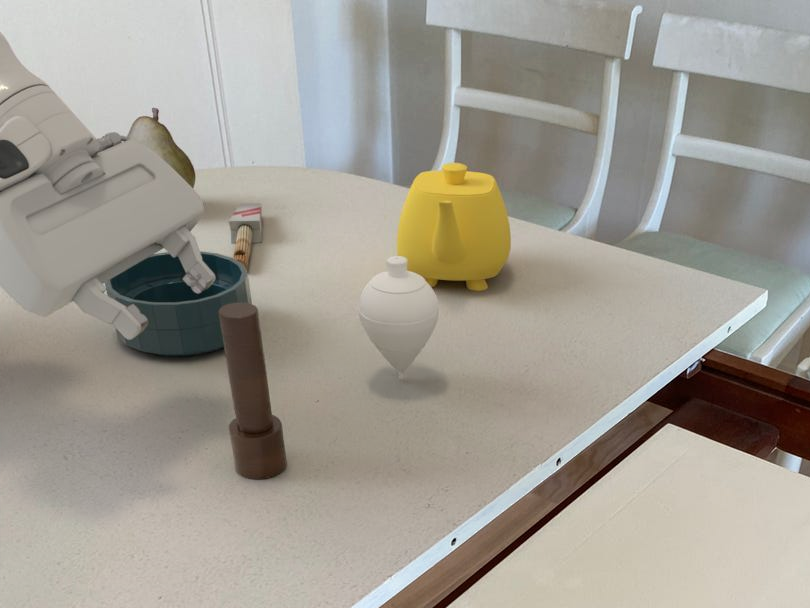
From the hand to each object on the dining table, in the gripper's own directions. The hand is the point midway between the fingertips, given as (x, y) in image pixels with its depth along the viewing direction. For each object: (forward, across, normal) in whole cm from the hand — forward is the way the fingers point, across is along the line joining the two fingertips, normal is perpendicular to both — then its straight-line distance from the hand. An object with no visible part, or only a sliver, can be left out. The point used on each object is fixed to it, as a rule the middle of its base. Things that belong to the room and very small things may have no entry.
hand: (175, 308), depth 78 cm
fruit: (-18, -51, -37) cm, 66 cm away
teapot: (+14, -46, -6) cm, 48 cm away
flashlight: (+13, 0, -5) cm, 14 cm away
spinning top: (+17, -19, -2) cm, 26 cm away
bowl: (-1, -20, -20) cm, 28 cm away
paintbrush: (-7, -45, -25) cm, 52 cm away
